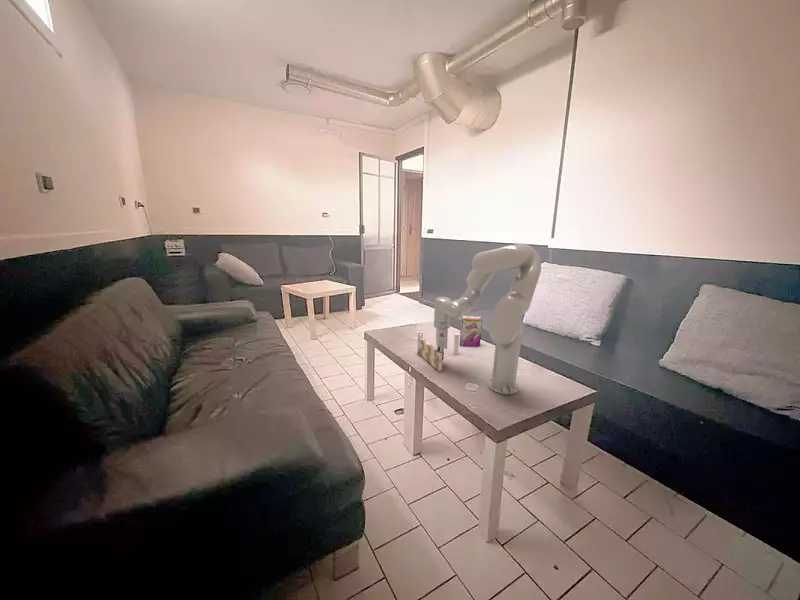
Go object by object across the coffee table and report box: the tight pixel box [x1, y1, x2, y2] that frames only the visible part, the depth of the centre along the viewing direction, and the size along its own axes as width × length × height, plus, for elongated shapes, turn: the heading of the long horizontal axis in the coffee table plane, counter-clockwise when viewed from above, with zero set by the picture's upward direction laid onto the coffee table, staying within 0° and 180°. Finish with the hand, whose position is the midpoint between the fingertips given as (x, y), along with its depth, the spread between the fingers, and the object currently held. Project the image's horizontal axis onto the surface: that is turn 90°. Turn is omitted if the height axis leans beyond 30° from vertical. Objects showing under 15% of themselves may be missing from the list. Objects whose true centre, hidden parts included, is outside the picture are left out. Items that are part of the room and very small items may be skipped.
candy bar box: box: [459, 315, 483, 347], centre depth 176 cm, size 11×5×16 cm, turn 84°
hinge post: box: [416, 332, 424, 356], centre depth 164 cm, size 2×2×11 cm
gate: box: [419, 338, 443, 372], centre depth 154 cm, size 20×2×8 cm, turn 23°
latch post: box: [453, 332, 460, 355], centre depth 165 cm, size 2×2×11 cm
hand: (439, 359), depth 152 cm, fingers closed
